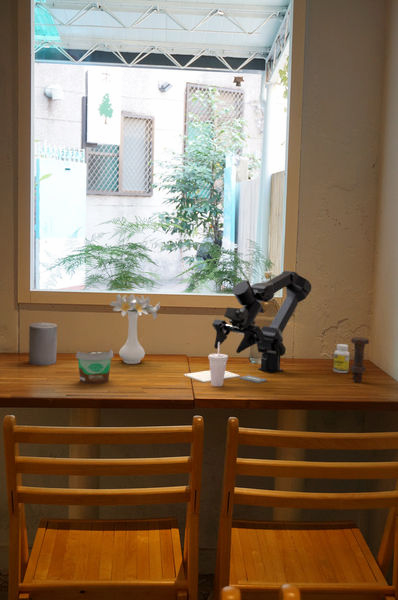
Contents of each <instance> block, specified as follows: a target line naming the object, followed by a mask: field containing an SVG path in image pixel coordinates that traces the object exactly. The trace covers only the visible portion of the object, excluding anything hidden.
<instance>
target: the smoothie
mask: <svg viewBox="0 0 398 600" xmlns="http://www.w3.org/2000/svg"><path fill="white" fill-rule="evenodd" d="M220 346H221V345H220V342H218V348H217V353H210V354H209V355H208V360H209V370H210V373H211V381H210V383H211V384H210V385H211V386H213V387H222V386H224V385H223V384H224V380H225V379H224V374H225V371H226V367H227V361H228V360H229V355H227V354H224V353H220V348H221V347H220Z"/></svg>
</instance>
